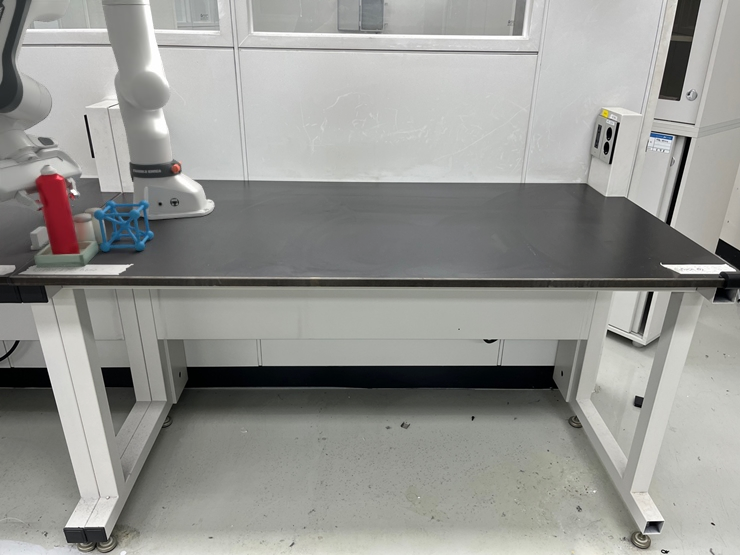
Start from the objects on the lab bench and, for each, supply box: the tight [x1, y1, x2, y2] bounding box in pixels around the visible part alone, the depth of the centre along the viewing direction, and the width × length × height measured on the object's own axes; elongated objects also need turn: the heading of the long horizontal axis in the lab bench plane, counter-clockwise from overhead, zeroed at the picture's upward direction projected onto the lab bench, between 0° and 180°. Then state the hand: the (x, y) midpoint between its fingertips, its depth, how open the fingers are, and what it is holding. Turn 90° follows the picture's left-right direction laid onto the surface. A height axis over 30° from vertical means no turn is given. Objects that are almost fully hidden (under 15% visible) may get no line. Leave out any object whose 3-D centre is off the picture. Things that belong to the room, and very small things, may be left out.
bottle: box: [35, 165, 80, 255], centre depth 120 cm, size 5×5×20 cm
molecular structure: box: [94, 200, 154, 252], centre depth 131 cm, size 10×10×10 cm
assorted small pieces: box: [29, 207, 108, 268], centre depth 128 cm, size 16×20×8 cm
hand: (58, 203), depth 119 cm, fingers open, 8 cm apart
